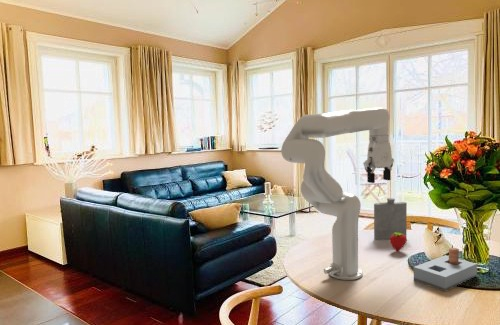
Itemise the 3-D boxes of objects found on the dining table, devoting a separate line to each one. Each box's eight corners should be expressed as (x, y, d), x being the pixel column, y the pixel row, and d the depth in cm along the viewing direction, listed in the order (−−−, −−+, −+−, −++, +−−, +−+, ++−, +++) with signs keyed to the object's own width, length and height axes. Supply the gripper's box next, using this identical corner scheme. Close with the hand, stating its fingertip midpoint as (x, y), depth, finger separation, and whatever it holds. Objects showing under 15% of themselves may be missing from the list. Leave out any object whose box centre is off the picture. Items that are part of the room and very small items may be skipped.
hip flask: (404, 236, 195) (404, 196, 193) (408, 238, 191) (408, 198, 189) (373, 238, 194) (373, 198, 192) (376, 240, 190) (376, 200, 188)
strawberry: (409, 252, 172) (409, 230, 171) (393, 254, 170) (393, 231, 169) (402, 248, 178) (402, 226, 176) (386, 250, 176) (386, 228, 175)
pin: (454, 274, 144) (455, 251, 143) (446, 272, 146) (447, 248, 145) (459, 272, 145) (460, 249, 144) (451, 270, 148) (452, 247, 147)
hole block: (445, 291, 133) (445, 277, 132) (413, 280, 143) (413, 266, 142) (476, 277, 144) (477, 263, 143) (445, 267, 154) (445, 255, 153)
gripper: (371, 140, 151) (372, 184, 153) (400, 138, 161) (400, 179, 162) (356, 140, 158) (357, 182, 159) (385, 138, 167) (385, 178, 169)
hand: (379, 181), depth 161 cm, fingers open, 9 cm apart
